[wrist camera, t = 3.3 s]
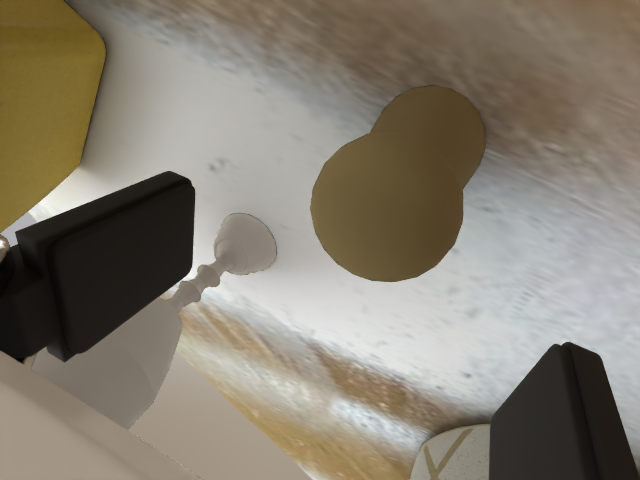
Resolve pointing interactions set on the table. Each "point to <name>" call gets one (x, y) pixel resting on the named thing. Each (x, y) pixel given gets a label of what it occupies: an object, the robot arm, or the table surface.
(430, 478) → the planter
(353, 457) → the table surface
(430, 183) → the pepper shaker
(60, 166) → the flower pot
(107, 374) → the chalice
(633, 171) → the table surface
